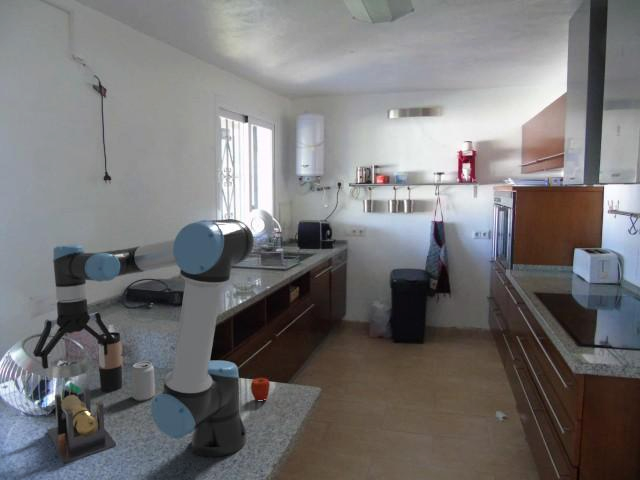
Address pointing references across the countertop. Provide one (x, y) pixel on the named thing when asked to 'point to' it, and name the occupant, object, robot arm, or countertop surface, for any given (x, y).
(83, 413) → the tube
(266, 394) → the apple
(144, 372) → the can
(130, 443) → the countertop surface
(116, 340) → the travel mug
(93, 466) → the countertop surface
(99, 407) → the dark grey pronged rack
